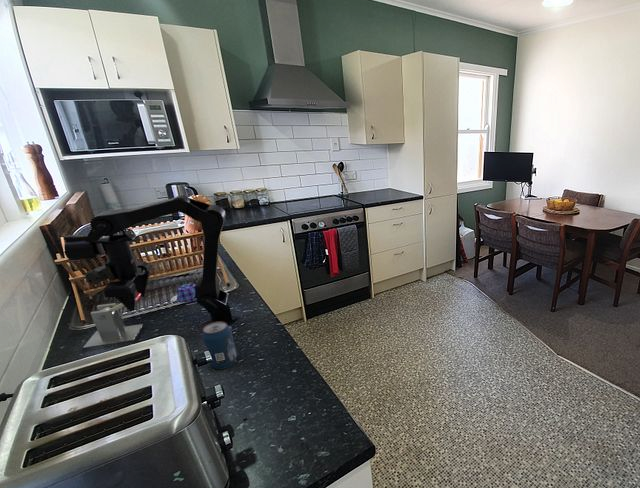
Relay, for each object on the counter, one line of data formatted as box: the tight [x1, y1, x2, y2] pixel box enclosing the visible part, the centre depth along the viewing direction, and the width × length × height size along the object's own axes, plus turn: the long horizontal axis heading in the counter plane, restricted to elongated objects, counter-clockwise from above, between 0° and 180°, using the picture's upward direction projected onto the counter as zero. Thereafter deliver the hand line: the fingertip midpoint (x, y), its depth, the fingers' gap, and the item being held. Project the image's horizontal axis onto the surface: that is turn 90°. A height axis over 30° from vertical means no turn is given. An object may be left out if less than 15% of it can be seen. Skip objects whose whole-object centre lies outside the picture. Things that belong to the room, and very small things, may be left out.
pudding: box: [170, 283, 198, 306], centre depth 129 cm, size 12×12×5 cm
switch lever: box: [100, 292, 141, 314], centre depth 103 cm, size 11×5×2 cm, turn 110°
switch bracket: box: [82, 302, 144, 350], centre depth 104 cm, size 12×9×11 cm
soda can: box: [201, 321, 238, 370], centre depth 96 cm, size 7×7×12 cm
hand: (137, 303), depth 105 cm, fingers open, 9 cm apart
